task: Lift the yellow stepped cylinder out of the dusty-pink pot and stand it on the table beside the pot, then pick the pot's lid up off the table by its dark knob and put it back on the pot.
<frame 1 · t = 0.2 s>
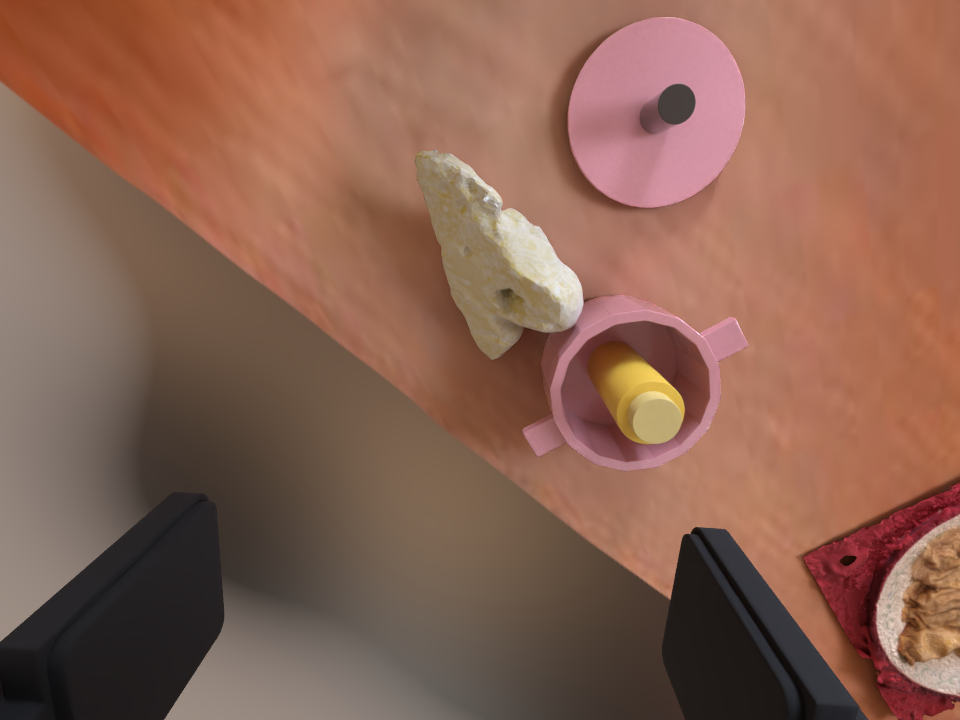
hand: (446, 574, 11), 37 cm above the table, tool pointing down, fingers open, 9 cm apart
lid: (654, 117, 42), point 1 cm above the table
pot: (612, 364, 48), on the table
cheese: (481, 253, 46), on the table
yellow stepped cylinder: (613, 366, 47), resting on pot
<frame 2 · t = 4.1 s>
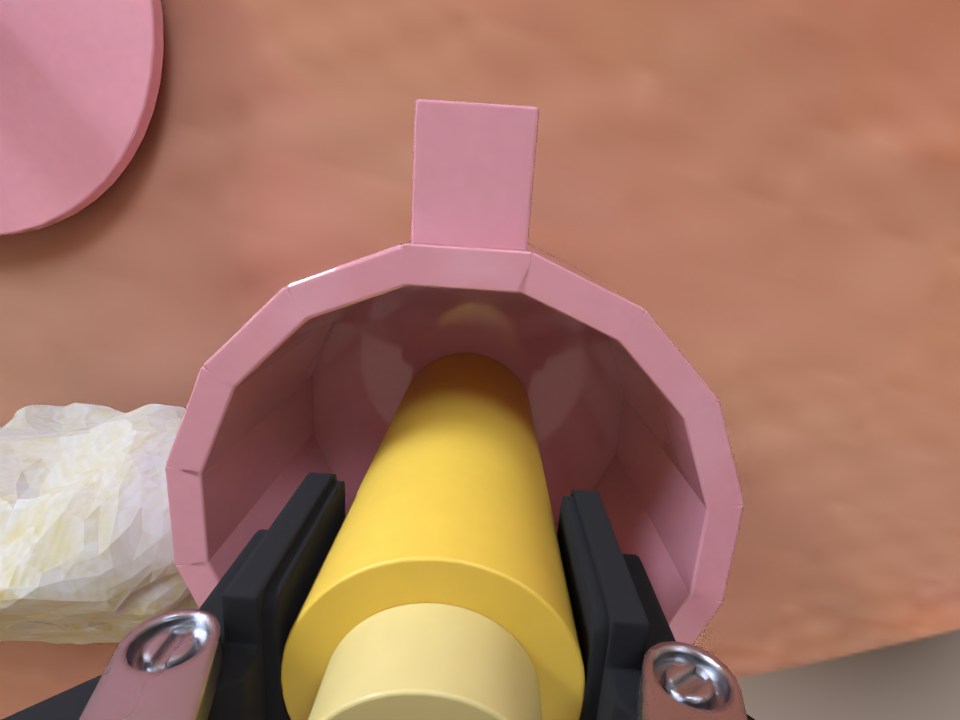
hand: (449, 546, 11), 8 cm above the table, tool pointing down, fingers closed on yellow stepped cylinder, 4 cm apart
pot: (466, 409, 20), on the table
cheese: (98, 502, 21), on the table
yellow stepped cylinder: (466, 414, 19), point 1 cm above the table, touching gripper, pot
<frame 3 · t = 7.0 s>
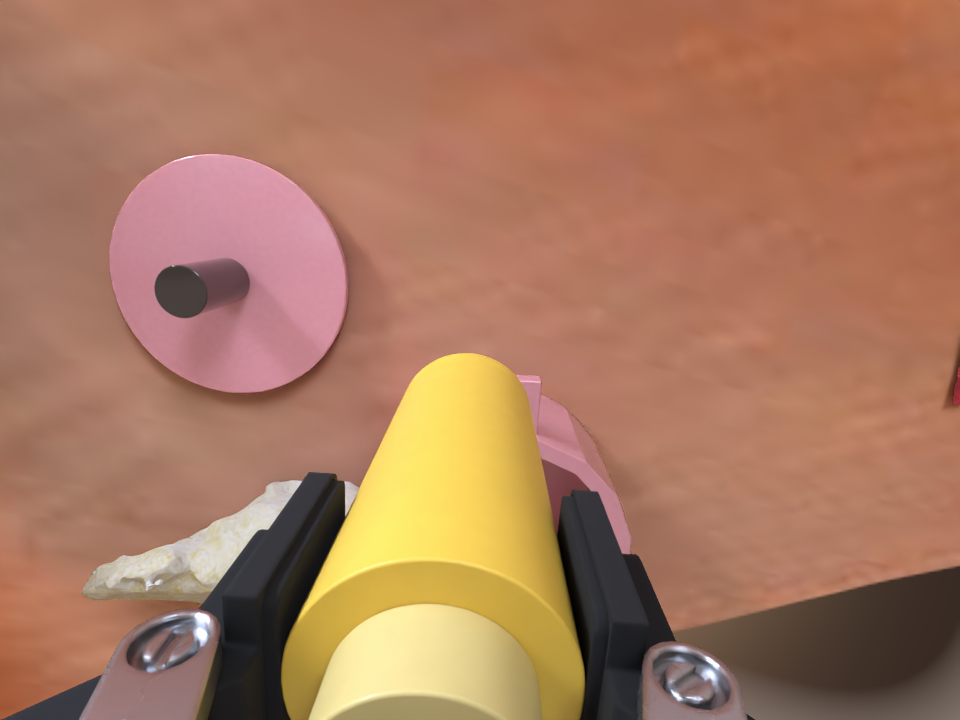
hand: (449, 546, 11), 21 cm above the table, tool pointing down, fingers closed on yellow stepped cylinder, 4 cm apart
lid: (232, 279, 31), point 1 cm above the table
pot: (501, 479, 35), on the table
cheese: (285, 531, 36), on the table
yellow stepped cylinder: (466, 415, 19), point 14 cm above the table, touching gripper
when the fingers open (8 cm above the table, at t = 10.4 s): yellow stepped cylinder stays where it is, on the table.
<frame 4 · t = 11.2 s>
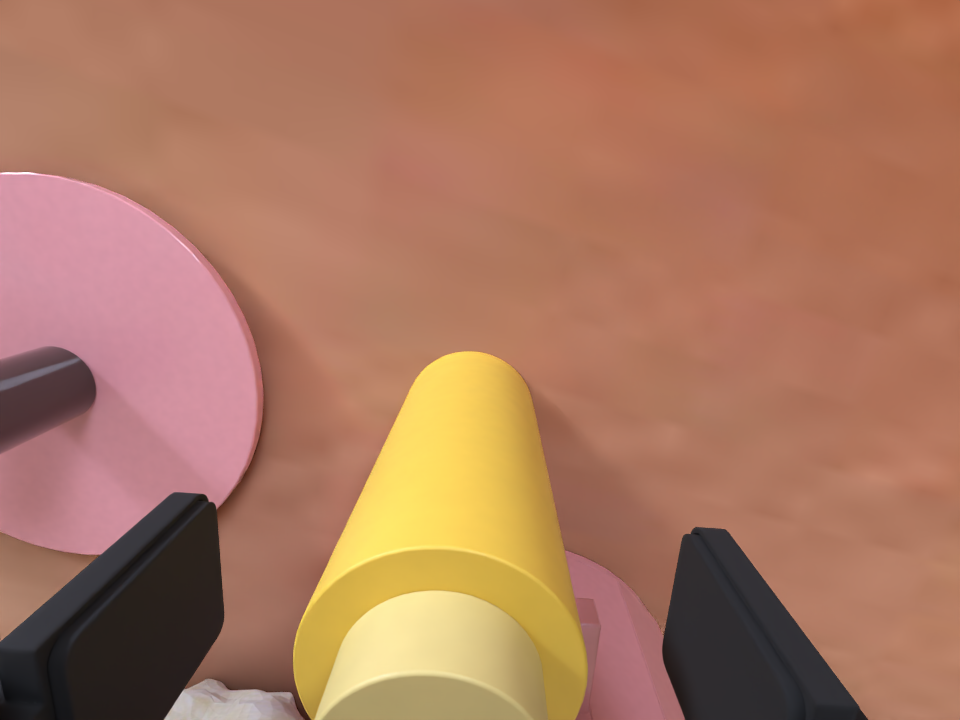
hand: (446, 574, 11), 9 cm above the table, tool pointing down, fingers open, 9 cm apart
lid: (71, 377, 19), point 1 cm above the table
pot: (512, 673, 22), on the table
yellow stepped cylinder: (469, 412, 19), on the table
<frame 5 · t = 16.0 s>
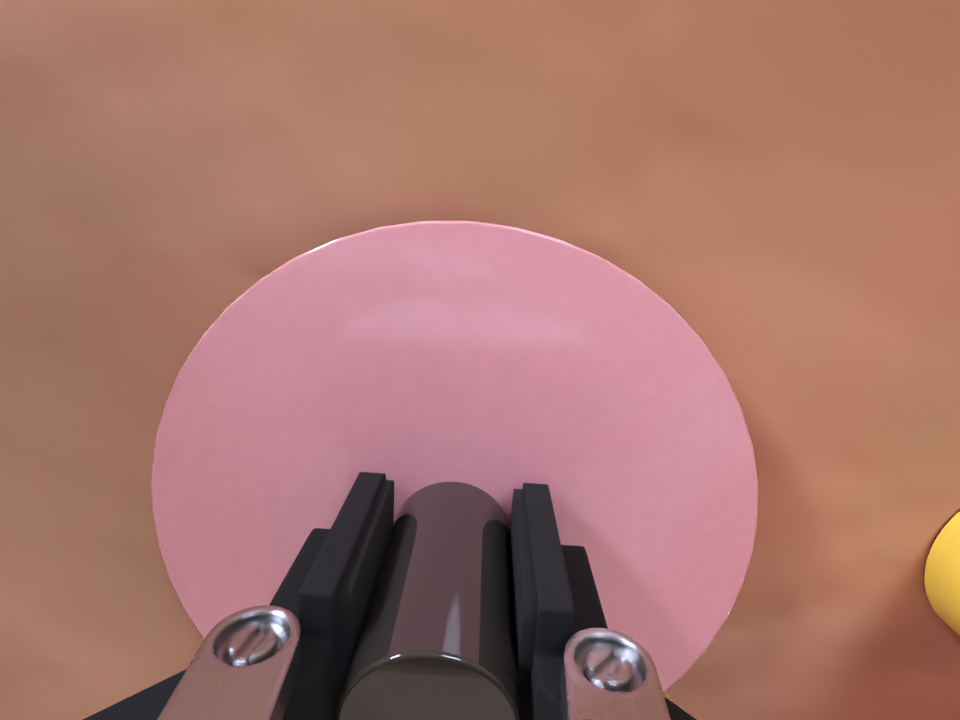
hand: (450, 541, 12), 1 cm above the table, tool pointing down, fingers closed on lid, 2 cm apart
lid: (453, 519, 13), point 1 cm above the table, touching gripper
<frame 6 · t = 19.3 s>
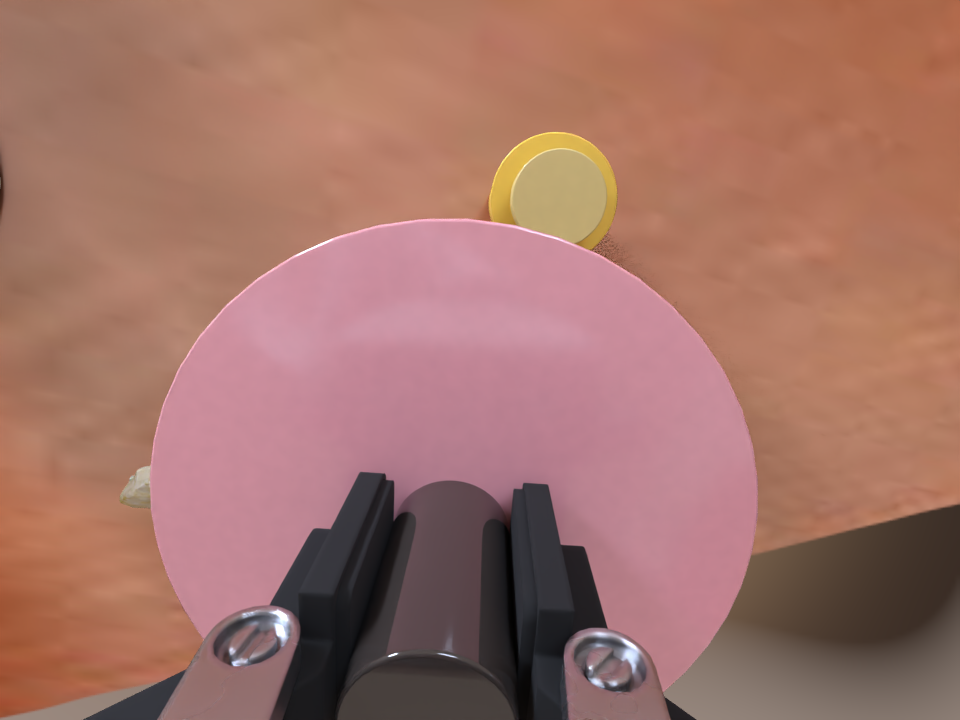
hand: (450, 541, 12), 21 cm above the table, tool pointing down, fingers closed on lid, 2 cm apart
lid: (452, 517, 13), point 21 cm above the table, touching gripper
cheese: (323, 453, 35), on the table
yellow stepped cylinder: (528, 205, 30), on the table
when the fingers open (9 cm above the table, at t = 23.0 s): lid stays where it is, resting on pot.
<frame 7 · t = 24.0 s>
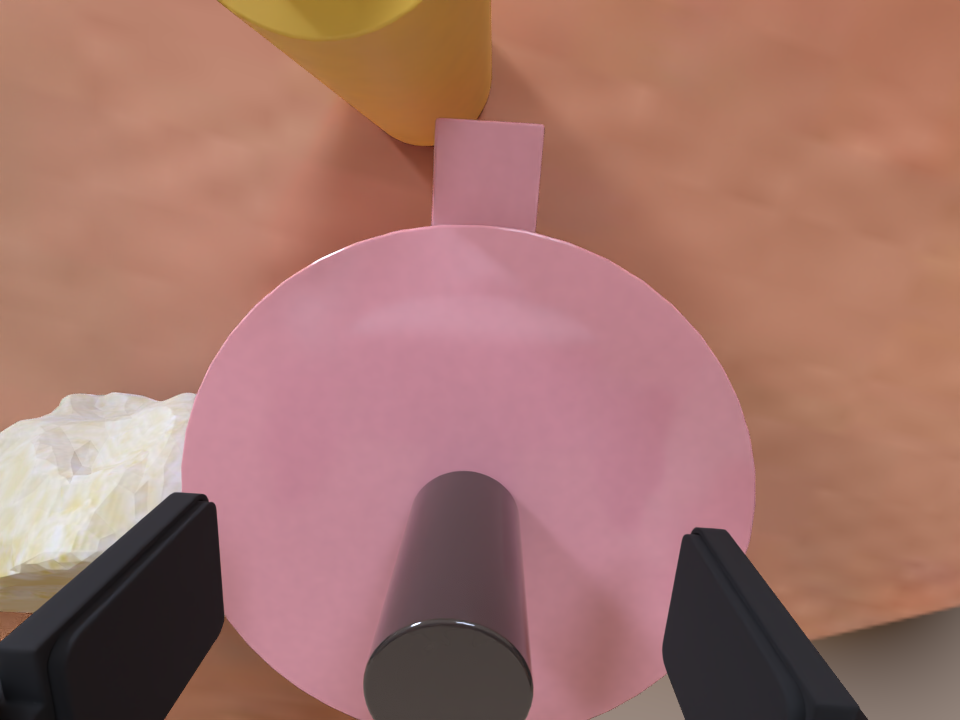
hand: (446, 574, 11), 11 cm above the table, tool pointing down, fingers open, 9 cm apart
lid: (465, 507, 13), point 8 cm above the table, touching pot
pot: (475, 400, 21), on the table
cheese: (130, 487, 23), on the table
yellow stepped cylinder: (423, 73, 18), on the table
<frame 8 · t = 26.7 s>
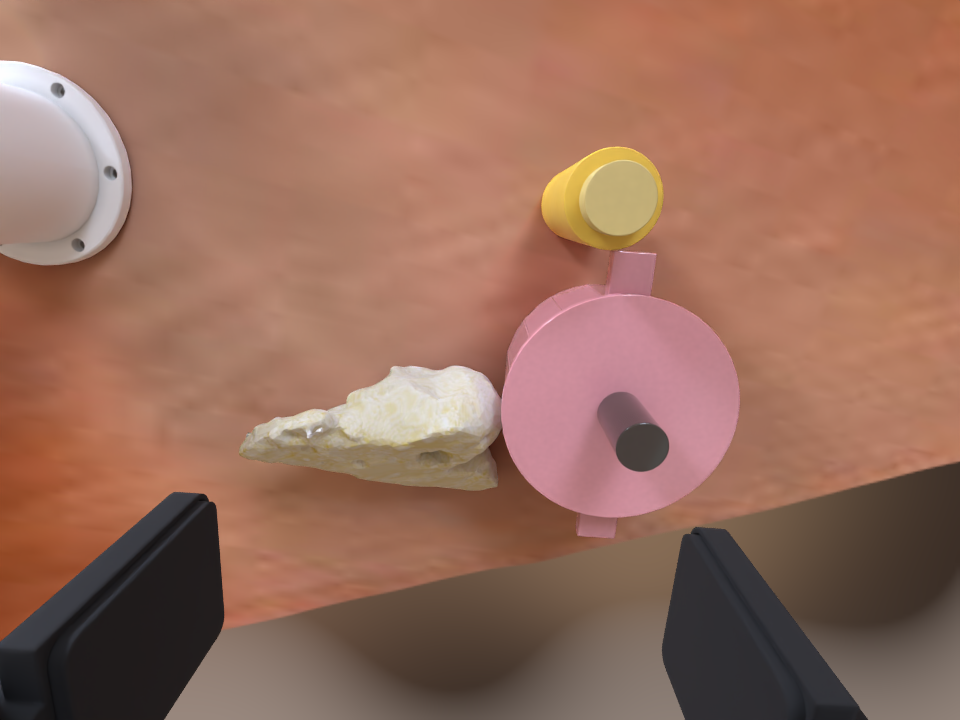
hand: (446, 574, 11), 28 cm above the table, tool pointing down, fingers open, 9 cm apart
lid: (617, 409, 31), point 8 cm above the table, touching pot
pot: (592, 371, 39), on the table
cheese: (394, 421, 40), on the table
yellow stepped cylinder: (575, 204, 36), on the table
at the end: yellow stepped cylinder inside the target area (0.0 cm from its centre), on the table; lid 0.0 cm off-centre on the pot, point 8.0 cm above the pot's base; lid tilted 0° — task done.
